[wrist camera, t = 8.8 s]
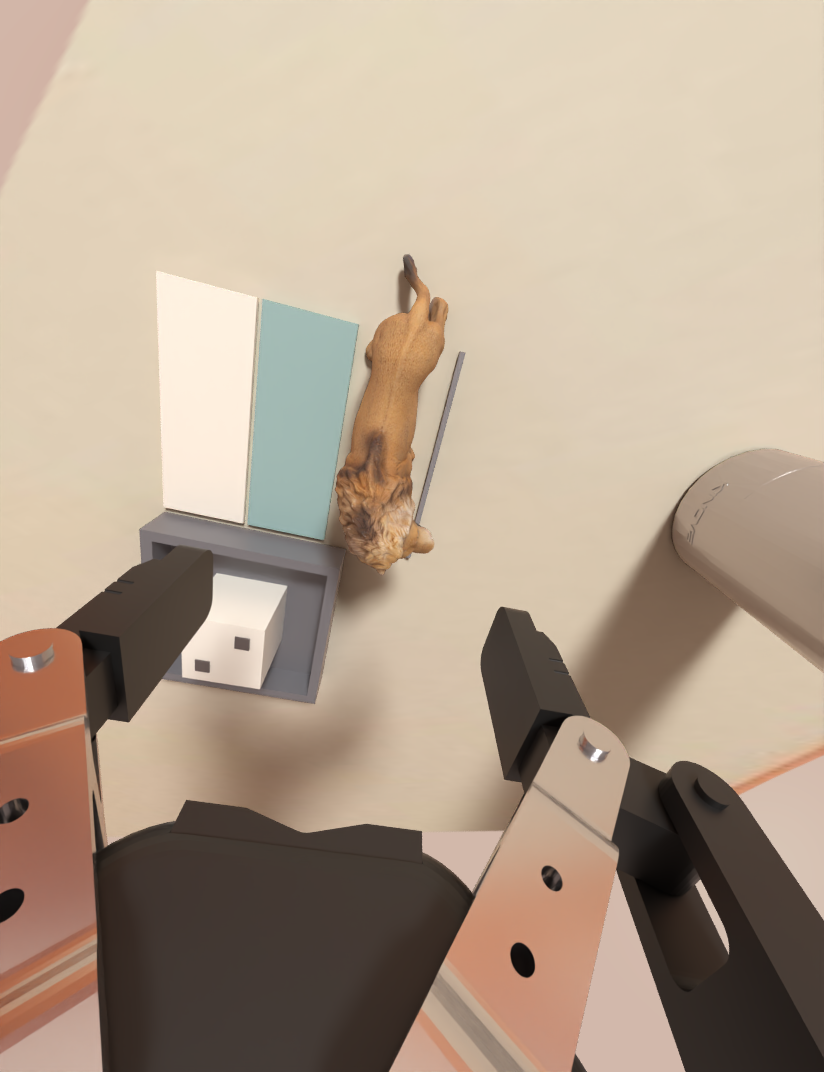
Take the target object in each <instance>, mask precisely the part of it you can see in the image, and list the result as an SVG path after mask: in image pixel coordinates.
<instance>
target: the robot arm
mask: <svg viewBox="0 0 824 1072" xmlns="http://www.w3.org/2000/svg"><path fill="white" fill-rule="evenodd" d="M672 539H673V543H674V546H675V550H676V552H677V553H678V555H679V556H680V558H681V559H682V560H683V561H684V562H685V563H686V564H688V565H689V566H690V567H691V568H692V569H694V570H695V571H696V572H697V573H699V574H700V575H701V576H702V577H704V578H705V579H706V580H707V581H709V582H710V583H711V584H712V585H714V586H715V587H716V588H717V589H719V590H720V591H721V592H722V593H723V594H725V595H726V596H727V597H728V598H730V599H731V600H732V601H733V602H735V603H736V604H737V605H738V606H740V607H741V608H742V609H744V610H745V611H746V612H747V613H749V614H750V615H751V616H752V617H754V618H755V619H756V620H757V621H759V622H760V623H761V624H762V625H764V626H765V627H766V628H768V629H769V630H770V631H771V632H773V633H774V634H775V635H776V636H778V637H779V638H780V639H781V640H783V641H784V642H785V643H786V644H788V645H789V646H790V647H791V648H793V649H794V650H795V651H797V652H798V653H799V654H800V655H802V656H803V657H804V658H805V659H807V660H808V661H809V662H810V663H812V664H813V665H814V666H815V667H817V668H818V669H819V670H821V671H822V672H823V673H824V462H822V461H818V460H815V459H811V458H807V457H804V456H800V455H796V454H793V453H789V452H786V451H782V450H778V449H759V450H753V451H747V452H744V453H741V454H739V455H736V456H733V457H730V458H729V459H727V460H725V461H723V462H721V463H719V464H718V465H716V466H714V467H713V468H712V469H710V470H709V471H708V472H706V473H705V474H704V475H703V476H701V477H700V478H699V479H698V481H697V482H696V483H695V484H694V485H693V486H692V487H691V488H690V489H689V491H688V492H687V493H686V495H685V496H684V498H683V499H682V501H681V503H680V505H679V507H678V509H677V512H676V514H675V518H674V522H673V527H672ZM212 600H213V554H212V551H211V550H207V549H202V548H197V547H191V546H186V545H178V546H177V547H175V548H174V549H173V550H172V551H171V552H170V553H168V554H167V555H166V556H165V557H164V558H163V559H161V560H158V559H152V560H149V561H147V562H144V563H142V564H139V565H137V566H134V567H132V568H131V569H130V570H129V571H127V572H126V573H125V574H123V575H122V576H121V577H120V578H118V580H117V582H113V583H112V584H111V585H110V586H108V587H107V588H106V589H105V591H104V592H101V593H100V594H98V595H97V596H96V597H94V598H93V599H92V600H91V601H89V602H88V603H87V604H86V605H84V606H83V607H82V608H81V609H79V610H78V611H77V612H76V613H74V614H73V615H72V616H70V617H69V618H68V619H67V620H65V621H64V622H63V623H62V624H60V625H59V626H58V627H57V628H47V629H37V630H31V631H27V632H23V633H20V634H16V635H14V636H11V637H9V638H6V639H4V640H2V641H0V1072H587V1071H586V1070H585V1068H584V1067H583V1065H582V1063H581V1062H580V1060H579V1059H578V1057H577V1056H576V1054H575V1051H576V1047H577V1043H578V1038H579V1034H580V1029H581V1024H582V1020H583V1016H584V1011H585V1007H586V1002H587V998H588V993H589V989H590V984H591V979H592V975H593V971H594V966H595V962H596V957H597V952H598V948H599V943H600V939H601V934H602V930H603V926H604V921H605V916H606V912H607V908H608V903H609V899H610V893H611V890H612V885H613V880H614V876H615V872H616V870H617V874H618V877H619V880H620V882H621V885H622V888H623V891H624V894H625V897H626V900H627V903H628V906H629V908H630V911H631V914H632V917H633V920H634V923H635V926H636V929H637V932H638V935H639V937H640V941H641V943H642V946H643V949H644V952H645V955H646V958H647V961H648V964H649V967H650V969H651V973H652V976H653V978H654V981H655V984H656V987H657V990H658V993H659V996H660V999H661V1002H662V1005H663V1008H664V1010H665V1013H666V1016H667V1019H668V1022H669V1025H670V1028H671V1031H672V1034H673V1036H674V1039H675V1042H676V1045H677V1048H678V1051H679V1054H680V1057H681V1060H682V1063H683V1066H684V1068H685V1071H686V1072H824V920H823V919H822V917H821V916H820V914H819V913H818V911H817V910H816V908H815V907H814V905H813V904H812V903H811V901H810V900H809V898H808V897H807V895H806V894H805V892H804V891H803V889H802V888H801V886H800V885H799V883H798V882H797V880H796V879H795V877H794V876H793V875H792V873H791V872H790V870H789V869H788V867H787V866H786V864H785V863H784V861H783V860H782V858H781V857H780V855H779V854H778V852H777V851H776V849H775V848H774V847H773V845H772V844H771V842H770V841H769V839H768V838H767V836H766V835H765V834H764V832H763V830H762V829H761V827H760V826H759V825H758V823H757V821H756V820H755V819H754V817H753V816H752V814H751V813H750V811H749V810H748V808H747V807H746V805H745V804H744V802H743V801H742V800H741V798H740V797H739V796H738V794H737V793H736V792H735V791H734V790H733V789H732V788H731V787H730V786H729V785H728V784H727V783H726V782H725V781H724V780H722V779H721V778H720V777H719V776H717V775H716V774H714V773H713V772H711V771H710V770H708V769H706V768H704V767H702V766H700V765H698V764H696V763H692V762H688V761H679V762H676V763H675V764H674V765H673V766H672V767H671V769H670V770H669V771H668V772H667V774H666V773H664V772H661V771H659V770H657V769H655V768H652V767H650V766H648V765H645V764H643V763H641V762H639V761H636V760H634V759H632V758H630V757H629V755H628V753H627V751H626V749H625V747H624V745H623V744H622V742H621V741H620V740H619V739H618V737H617V736H616V735H615V734H614V733H613V732H612V731H610V730H609V729H608V728H607V727H605V726H604V725H602V724H601V723H599V722H597V721H595V720H593V719H591V718H590V716H589V714H588V712H587V710H586V708H585V705H584V703H583V701H582V699H581V697H580V695H579V693H578V691H577V689H576V687H575V685H574V683H573V680H572V678H571V676H569V675H568V674H569V672H568V670H567V668H566V666H565V664H564V663H563V660H562V658H561V655H560V653H559V651H558V649H557V647H556V646H555V644H554V643H553V642H552V641H551V640H550V639H549V638H548V637H547V636H546V635H545V634H544V633H543V632H539V631H537V630H536V628H535V626H534V624H533V621H532V619H531V617H530V615H529V613H528V612H527V611H522V610H517V609H511V608H506V607H500V608H499V609H498V611H497V613H496V616H495V618H494V621H493V624H492V626H491V629H490V631H489V634H488V636H487V639H486V642H485V644H484V647H483V650H482V654H481V672H482V677H483V682H484V686H485V691H486V696H487V700H488V705H489V710H490V714H491V719H492V724H493V728H494V733H495V738H496V743H497V747H498V752H499V757H500V761H501V766H502V771H503V775H504V780H510V781H516V782H522V786H523V790H524V794H523V796H522V797H521V799H520V801H519V803H518V805H517V807H516V809H515V811H514V813H513V815H512V817H511V818H510V820H509V822H508V824H507V826H506V828H505V830H504V832H503V834H502V836H501V838H500V840H499V842H498V844H497V846H496V847H495V849H494V852H493V853H492V855H491V857H490V859H489V861H488V863H487V865H486V867H485V869H484V871H483V872H482V874H481V876H480V878H479V880H478V882H477V884H476V885H475V887H474V889H473V891H472V892H471V891H470V890H469V888H468V887H467V886H466V885H465V884H464V883H463V882H462V881H461V880H460V879H459V878H458V877H457V876H456V875H455V874H454V873H453V872H452V871H451V870H449V869H448V868H447V867H446V866H444V865H443V864H442V863H440V862H439V861H437V860H436V859H434V858H432V857H431V856H429V855H427V854H425V853H423V852H422V831H416V830H408V829H401V828H393V827H386V826H378V825H371V824H363V825H356V826H350V827H343V828H337V829H331V830H324V831H318V832H312V833H302V832H299V831H296V830H294V829H292V828H290V827H287V826H285V825H283V824H281V823H279V822H276V821H274V820H272V819H270V818H267V817H265V816H263V815H261V814H259V813H256V812H254V811H252V810H250V809H248V808H243V807H235V806H228V805H220V804H212V803H205V802H197V801H190V800H186V802H185V804H184V806H183V808H182V810H181V812H180V814H179V816H178V818H177V820H176V821H173V822H167V823H163V824H159V825H155V826H152V827H148V828H146V829H143V830H140V831H137V832H135V833H132V834H130V835H128V836H126V837H124V838H122V839H119V840H118V841H115V842H113V843H111V844H110V845H108V842H107V834H106V826H105V817H104V807H103V795H102V784H101V772H100V760H99V749H98V739H97V732H98V730H99V729H100V728H101V727H102V725H103V724H104V723H105V722H106V721H107V719H110V720H116V721H123V722H130V720H131V719H132V718H133V716H134V715H135V714H136V712H137V711H138V710H139V708H140V707H141V706H142V704H143V703H144V702H145V700H146V699H147V698H148V696H149V695H150V694H151V692H152V691H153V690H154V688H155V687H156V686H157V684H158V683H159V682H160V680H161V679H162V678H163V676H164V675H165V674H166V672H167V671H168V670H169V668H170V667H171V666H172V664H173V663H174V662H175V660H176V659H177V658H178V656H179V655H180V654H181V652H182V651H183V650H184V648H185V647H186V646H187V644H188V643H189V642H190V640H191V639H192V638H193V636H194V635H195V634H196V632H197V631H198V630H199V628H200V627H201V626H202V624H203V623H204V622H205V620H206V619H207V617H208V615H209V612H210V609H211V606H212ZM700 879H701V881H702V883H703V885H704V887H705V889H706V891H707V893H708V895H709V897H710V899H711V901H712V903H713V905H714V907H715V909H716V911H717V913H718V915H719V917H720V919H721V921H722V923H723V925H724V927H725V930H726V933H727V937H728V941H729V954H728V952H727V950H726V948H725V946H724V944H723V942H722V940H721V938H720V936H719V934H718V932H717V930H716V927H715V925H714V923H713V921H712V919H711V917H710V915H709V913H708V911H707V909H706V907H705V905H704V902H703V901H702V898H701V897H700V894H699V892H698V890H697V888H696V886H695V884H696V883H697V882H698V881H699V880H700Z"/></svg>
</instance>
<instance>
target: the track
mask: <svg viewBox="0 0 824 1072" xmlns="http://www.w3.org/2000/svg"><path fill="white" fill-rule="evenodd" d="M156 283H157V315H158V347H159V379H160V411H161V443H162V475H163V507H166V508H170V509H175V510H180V511H185V512H190V513H195V514H199V515H204V516H209V517H214V518H219V519H224V520H228V521H233V522H238V523H244V522H245V509H246V494H247V478H248V462H249V447H250V431H251V415H252V399H253V384H254V368H255V352H256V336H257V321H258V305H259V298H257V297H253V296H250V295H246V294H242V293H238V292H235V291H231V290H227V289H223V288H220V287H216V286H212V285H208V284H205V283H201V282H197V281H193V280H190V279H186V278H182V277H178V276H175V275H171V274H167V273H163V272H160V271H156ZM358 327H359V325H358V324H355V323H351V322H347V321H343V320H340V319H336V318H332V317H328V316H325V315H321V314H317V313H313V312H310V311H306V310H302V309H298V308H295V307H291V306H287V305H283V304H280V303H276V302H272V301H268V300H265V299H263V302H262V317H261V332H260V347H259V362H258V376H257V391H256V406H255V421H254V436H253V451H252V466H251V481H250V496H249V510H248V525H253V526H257V527H262V528H267V529H272V530H277V531H282V532H286V533H291V534H296V535H301V536H306V537H311V538H315V539H320V540H324V539H325V533H326V527H327V520H328V514H329V508H330V502H331V495H332V489H333V483H334V477H335V471H336V464H337V458H338V452H339V446H340V439H341V433H342V427H343V421H344V415H345V408H346V402H347V396H348V390H349V383H350V377H351V371H352V365H353V359H354V352H355V346H356V340H357V334H358ZM464 356H465V353H464V352H459V356H458V360H457V364H456V368H455V371H454V375H453V379H452V383H451V387H450V390H449V394H448V398H447V402H446V406H445V409H444V413H443V417H442V421H441V424H440V428H439V432H438V436H437V440H436V443H435V447H434V451H433V455H432V459H431V462H430V466H429V470H428V474H427V478H426V481H425V485H424V489H423V493H422V497H421V500H420V504H419V508H418V512H417V516H416V519H415V522H416V523H417V524H419V523H420V520H421V516H422V512H423V508H424V505H425V501H426V497H427V494H428V490H429V486H430V482H431V479H432V475H433V471H434V468H435V464H436V460H437V457H438V453H439V449H440V445H441V442H442V438H443V434H444V431H445V427H446V423H447V419H448V416H449V412H450V408H451V405H452V401H453V397H454V393H455V390H456V386H457V382H458V379H459V375H460V371H461V367H462V364H463V360H464ZM410 557H411V554H410V555H409V556H407V558H410Z"/></svg>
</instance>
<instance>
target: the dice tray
mask: <svg viewBox="0 0 824 1072" xmlns="http://www.w3.org/2000/svg"><path fill="white" fill-rule="evenodd" d="M139 531H140V547H141V564H142V563H144V562H147V561H149V560H152V559H158V560H161V559H163V558H164V557H165V556H166V555H167V554H168V553H170V552H171V551H172V550H173V549H174V548H175V547H177V546H178V545H186V546H191V547H197V548H202V549H207V550H211V551H212V554H213V577H214V576H215V575H216V573H219V574H225V575H230V576H236V577H241V578H247V579H252V580H258V581H263V582H269V583H274V584H280V585H285V586H287V595H286V605H285V614H284V623H283V633H282V640H281V642H280V644H279V647H278V649H277V651H276V654H275V656H274V658H273V661H272V663H271V665H270V668H269V670H268V672H267V674H266V677H265V679H264V681H263V684H262V686H261V688H260V689H255V688H248V687H242V686H235V685H229V684H223V683H216V682H210V681H203V680H197V679H190V678H184V677H182V652H181V654H180V655H179V656H178V658H177V659H176V660H175V662H174V663H173V664H172V666H171V667H170V668H169V670H168V671H167V672H166V674H165V675H164V676H163V678H162V679H166V680H172V681H178V682H184V683H190V684H196V685H203V686H209V687H215V688H221V689H227V690H233V691H239V692H245V693H252V694H258V695H264V696H270V697H276V698H282V699H288V700H294V701H301V702H307V703H313V704H315V701H316V698H317V694H318V690H319V686H320V682H321V679H322V674H323V669H324V663H325V658H326V653H327V648H328V642H329V637H330V632H331V626H332V621H333V616H334V610H335V605H336V600H337V595H338V589H339V584H340V579H341V573H342V568H343V563H344V558H345V552H346V549H343V548H338V547H333V546H328V545H323V544H319V543H314V542H309V541H304V540H299V539H294V538H289V537H284V536H280V535H275V534H270V533H265V532H260V531H255V530H250V529H246V528H241V527H236V526H231V525H226V524H221V523H216V522H212V521H207V520H202V519H197V518H192V517H187V516H182V515H178V514H173V513H168V512H164V513H162V514H161V515H159V516H158V517H156V518H155V519H153V520H152V521H151V522H149V523H148V524H146V525H145V526H143V527H142V528H140V529H139Z"/></svg>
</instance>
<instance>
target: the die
mask: <svg viewBox="0 0 824 1072" xmlns="http://www.w3.org/2000/svg"><path fill="white" fill-rule="evenodd" d="M286 595H287V586H285V585H280V584H274V583H269V582H263V581H258V580H252V579H247V578H241V577H236V576H230V575H225V574H219V573H216V575H215V576H214V577H213V600H212V606H211V609H210V612H209V615H208V617H207V619H206V620H205V622H204V623H203V624H202V626H201V627H200V628H199V630H198V631H197V632H196V634H195V635H194V636H193V638H192V639H191V640H190V642H189V643H188V644H187V646H186V647H185V648H184V650H183V651H182V677H184V678H190V679H197V680H203V681H210V682H216V683H223V684H229V685H235V686H242V687H248V688H255V689H260V688H261V686H262V684H263V681H264V679H265V677H266V674H267V672H268V670H269V668H270V665H271V663H272V661H273V658H274V656H275V654H276V651H277V649H278V647H279V644H280V642H281V640H282V633H283V623H284V614H285V605H286Z"/></svg>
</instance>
